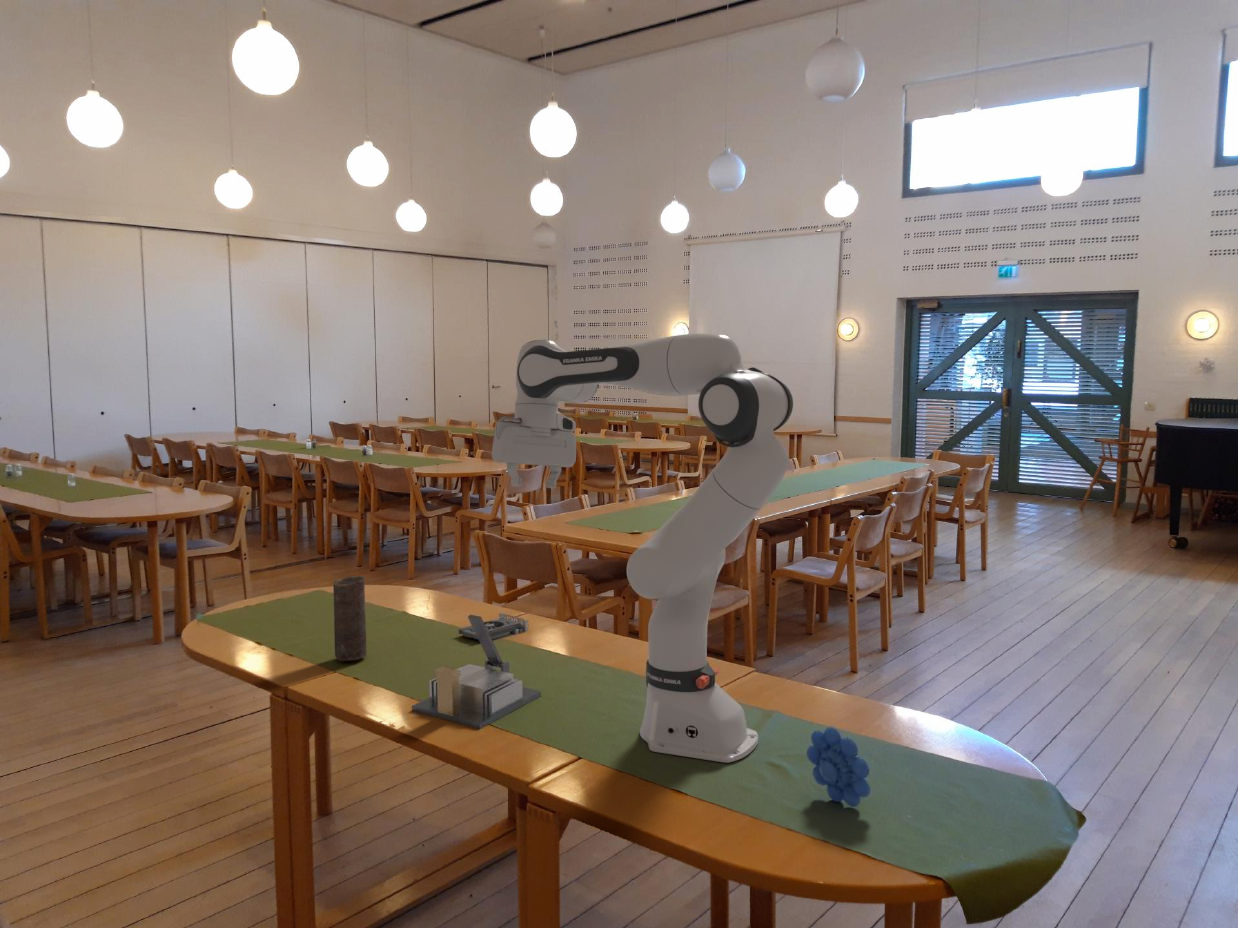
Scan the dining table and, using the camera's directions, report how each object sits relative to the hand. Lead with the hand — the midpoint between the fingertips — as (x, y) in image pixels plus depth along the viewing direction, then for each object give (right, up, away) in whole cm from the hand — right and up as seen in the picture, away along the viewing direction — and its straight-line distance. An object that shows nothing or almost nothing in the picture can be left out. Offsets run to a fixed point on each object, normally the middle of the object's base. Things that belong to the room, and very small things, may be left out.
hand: (533, 487), depth 180 cm
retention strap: (-11, -33, +5) cm, 35 cm away
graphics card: (-17, -41, +53) cm, 68 cm away
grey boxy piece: (-12, -45, +4) cm, 47 cm away
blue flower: (+52, -50, -39) cm, 82 cm away
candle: (-47, -43, +31) cm, 71 cm away
